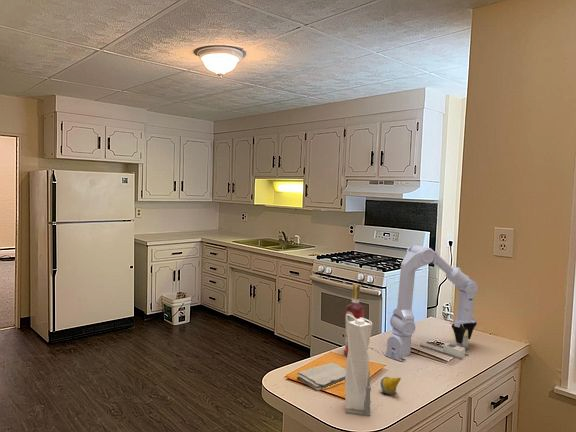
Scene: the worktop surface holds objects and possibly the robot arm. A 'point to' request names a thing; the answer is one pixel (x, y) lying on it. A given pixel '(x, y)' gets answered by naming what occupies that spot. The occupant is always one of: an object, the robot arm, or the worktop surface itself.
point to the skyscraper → (358, 367)
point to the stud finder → (454, 350)
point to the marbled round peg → (464, 341)
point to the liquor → (353, 311)
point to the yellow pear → (389, 385)
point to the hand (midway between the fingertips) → (463, 340)
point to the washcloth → (322, 376)
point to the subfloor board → (441, 351)
